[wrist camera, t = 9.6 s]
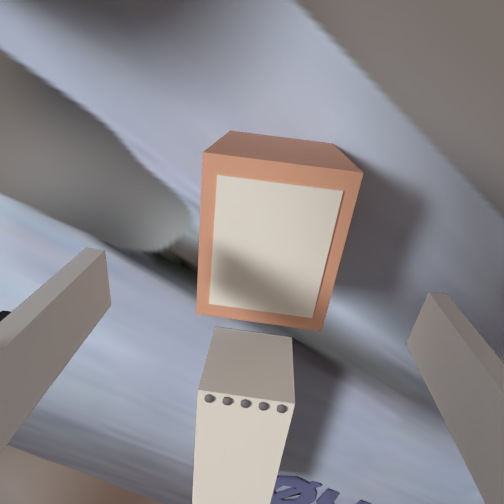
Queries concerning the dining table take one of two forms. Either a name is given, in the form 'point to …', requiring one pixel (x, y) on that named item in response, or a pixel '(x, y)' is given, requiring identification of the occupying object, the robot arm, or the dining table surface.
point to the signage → (302, 492)
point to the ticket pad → (242, 417)
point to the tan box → (273, 228)
